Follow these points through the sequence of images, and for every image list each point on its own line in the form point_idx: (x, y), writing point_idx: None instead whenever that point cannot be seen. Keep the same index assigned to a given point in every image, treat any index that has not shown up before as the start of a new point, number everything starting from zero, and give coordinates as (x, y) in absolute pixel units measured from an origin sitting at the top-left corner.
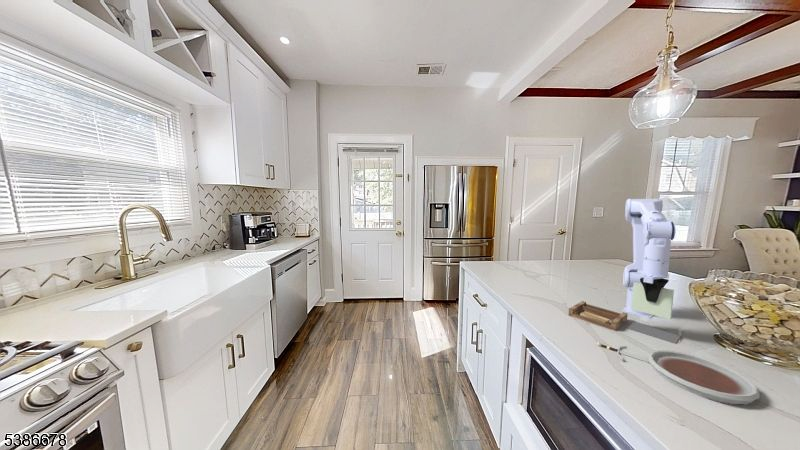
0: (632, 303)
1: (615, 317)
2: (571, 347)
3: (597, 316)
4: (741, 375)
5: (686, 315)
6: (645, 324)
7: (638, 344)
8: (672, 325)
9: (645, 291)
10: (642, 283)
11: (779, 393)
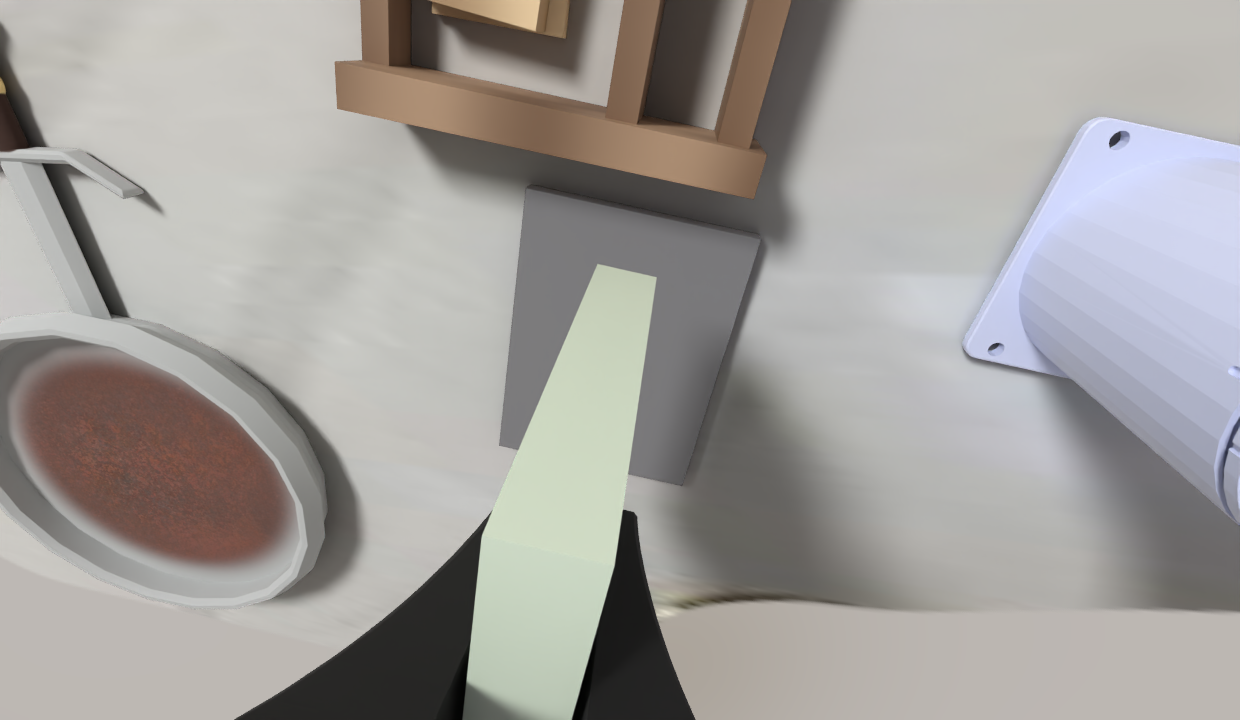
0: (583, 302)
1: (611, 83)
2: None
3: None
4: (259, 599)
5: (1231, 563)
6: (734, 315)
7: (305, 259)
8: (896, 462)
9: (429, 585)
10: (253, 716)
11: (337, 631)
